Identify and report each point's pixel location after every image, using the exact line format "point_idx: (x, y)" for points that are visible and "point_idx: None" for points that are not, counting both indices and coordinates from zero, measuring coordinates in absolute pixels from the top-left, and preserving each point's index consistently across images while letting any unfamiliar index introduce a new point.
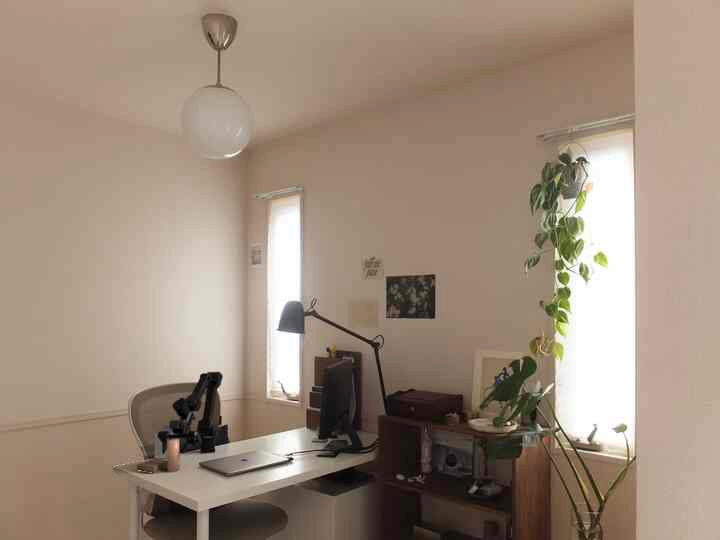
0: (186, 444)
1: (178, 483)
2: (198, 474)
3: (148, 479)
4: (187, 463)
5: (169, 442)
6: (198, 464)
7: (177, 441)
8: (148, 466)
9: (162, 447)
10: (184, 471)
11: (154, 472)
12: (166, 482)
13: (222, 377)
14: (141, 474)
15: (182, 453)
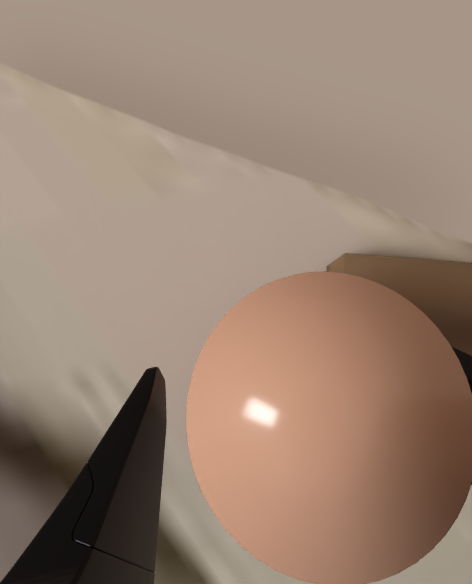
0: (79, 482)
1: (56, 156)
2: (38, 319)
3: (269, 174)
4: None
5: (307, 277)
6: (186, 539)
7: (193, 397)
8: (393, 258)
9: (457, 351)
10: (171, 353)
11: (328, 269)
12: (132, 155)
13: None
14: (386, 237)
15: (150, 371)
